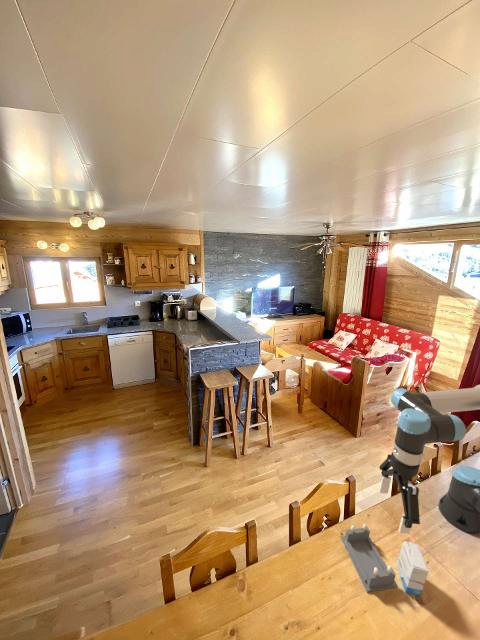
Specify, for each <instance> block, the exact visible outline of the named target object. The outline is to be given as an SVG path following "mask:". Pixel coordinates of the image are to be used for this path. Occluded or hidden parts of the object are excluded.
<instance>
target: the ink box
mask: <svg viewBox="0 0 480 640" xmlns="http://www.w3.org/2000/svg"><path fill="white" fill-rule="evenodd" d="M396 568H397V571H398V574H399V577H400V580H401V583H402V587H403V589H404V592H405V593H407V594H410V595H414V596H419V597H420V596H422V592H423V589H424V586H425V582H426V580H427V577H428V575H429V568H428V566H427V563H426V561H425V559H424V556H423V554H422V551H421V549H420V546H419V544H418V543H414V542H409V541H406V540H404V541H402V545H401V548H400V551H399V554H398V558H397V561H396Z"/></svg>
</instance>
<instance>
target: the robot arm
mask: <svg viewBox="0 0 480 640" xmlns="http://www.w3.org/2000/svg"><path fill="white" fill-rule="evenodd" d="M390 401H391V404H392V405H393V406H394V407H395V408H396V409H397V410H398V411H399V412H401V413H400V416H399V418H398V420H397V428H396V431H395V432H396V433H395V438H394V443H393V446H392V450H391V451H392V452H391V454H389V453H388V454H387V457H386V459H385V460H384V461H383V462H382V463H381V464H380V465H379V467H378V468H379V470H381V479H380V485H379V489H378V492H379V493H380V494H388V493H389V489H390V485H391V482H392V476H393V478H394V479H395V481H396V482H397V485H398V490H399V491H400V493H401V499H402V500H401V501H402V505H403V506H402V507H403V512H404V513H403V514H401V519H400V522H399V527H398V532H399V534H408V535H409V534H410V531H411V529H412V527H413V525H420V524H421V523H420V522H421V521H420V520H421V519H420V518H421V517H420V505H419V493H420V490H419V487H418V486H414V484H413V479H414V477H416V476H417V475H418V473H419V469H420V465H421V462H422V458H423V455H424V454H423V453H424V450H425V446H426V445H427V444H436V443H452V442H457V441H461V440H463V439H464V438H465V437H466V434H467V428H466V425H465V424H464V422H463V420H462V419H461V418H459V416H457V415H454V414H449V413H455V412H456V413H457V412H468V411H477V410H480V384H477V385H475V386H474V387H468V388H457V389H447V390H434V391H424V392H423V391H421V392H414V393H413V392H411V391H410V390H408V389H406V388H403V387H400V388H397V389H396V390H394V391H393V392H392V394H391V395H390ZM446 413H447V414H446ZM403 487H404V488H403ZM438 510H439V512H440V514H441V515H442V517H443V518H444V519H445V520H446V521H448V523H450V524H451V525H452V526H454V527H456V528H457V529H459V530H460V531H463V532H465V533H468V534H472V535H478V534H480V468H479V469H478V468H476V467H474V466H471V465H464V464H463V465H458V466H455V469H454V471H453V472H452V477H451V480H450V483H449V487H448V490H447V492H446V493H445V494H444V495H443V496H442V497H441V498H440V499H439V502H438Z"/></svg>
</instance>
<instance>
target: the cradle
mask: <svg viewBox="0 0 480 640" xmlns="http://www.w3.org/2000/svg"><path fill="white" fill-rule="evenodd" d="M355 527H356V526H355V525H353V524H352V525H351V526H350V528H349V529H346V530H345V533H344V534H345V535H344V536H341V537H340V539H341V542H342V543H343V546H344V547H345V549H346V551H347V553H348V557H349V558H350V559H351V562H352V564H353V566H354V568H355V570H356V572H357V574H358V576H359V578H360V580H361V584H363V587H364V589H365V591H366V593H372V592H379V591H383V590H389V589H395V588H398V584H397V583H396V581H395V579H396V573H395V571H394V569H393V567H392V566H391V565H390V564H389V565H387V564H386V563H385V561H384V559H383V558H382V556H381V555H380V553H379V550H378V549H377V547H376V546H375V544H374V542H373V541H372V538H371V537H370V533H371V530H370V529H369V527H368V525H367V524H366V523H363V524H362V527H359V528H358V527H356V528H355Z"/></svg>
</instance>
